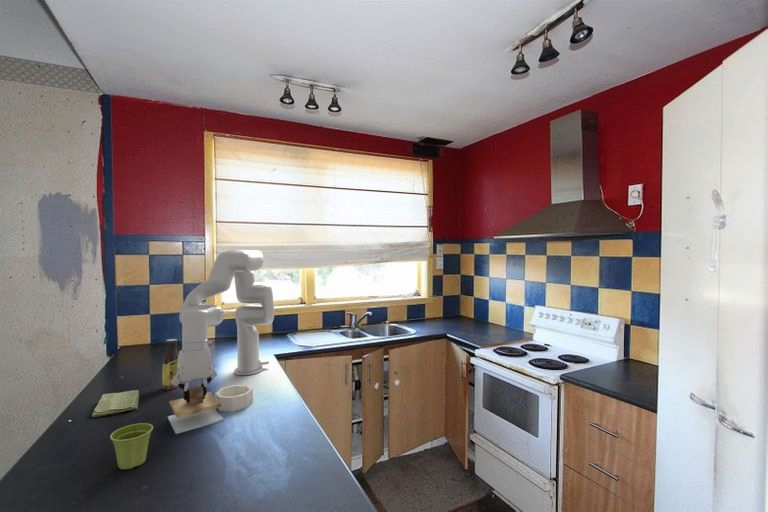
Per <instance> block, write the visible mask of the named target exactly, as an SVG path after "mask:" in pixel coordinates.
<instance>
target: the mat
mask: <svg viewBox="0 0 768 512" xmlns="http://www.w3.org/2000/svg"><path fill="white" fill-rule="evenodd" d="M167 420H168V421H169V423H170V425H171V428H172V429H173V431H174V434H175V435H178V434H182V433H185V432H188V431H192V430H195V429H199V428H202V427H206V426H209V425H212V424H213V425H214V424H215V423H221V422H222V421H224V418H223V416H222V415H221V414H220V413H219V411H217V408H215V409H211V410H207V411H203V412H200V413H196V414H192V415H188V416H184V417H180V418H177V417H176V415H175V414H172V415H169V416H168V415H167Z"/></svg>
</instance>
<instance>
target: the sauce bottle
mask: <svg viewBox="0 0 768 512" xmlns="http://www.w3.org/2000/svg"><path fill="white" fill-rule="evenodd" d="M165 345H166V347H165V348H166V349H165V353H164V354H163V356H162V365H161V366H162V367H161V368H162V370H161V374H162V376H161V385H162V390H167V391H168V390H173V389H177V388H179V387H178V386H175V385H172V383H171V382H172V380H173V379H174V377H175V376H176V374H177V364H178V356H179V351H178V348H177V345H178V339H177V338H169V339H166V340H165ZM178 382H180V380H178Z"/></svg>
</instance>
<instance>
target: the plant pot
mask: <svg viewBox="0 0 768 512" xmlns="http://www.w3.org/2000/svg"><path fill="white" fill-rule="evenodd" d="M153 430H154V426H153V424H150V423H147V422H145V423H144V422H143V423H141V422H140V423H134V424H130V425H129V424H128V425H126V426H123V427H120V428H118V429H116V430H114V431H113V432H112V433H111V434H110V436H109V438H110V440H111V441H112V444H113V445H114V451H115V455H116V456H115V457H116V462H117V467H118V468H119V469H120V470H132V469H133V468H134V467H139V466H140V465H143V464H144V463H145V462H146V459H147V454H148V447H149V443H150V442H149V441H150V436H151V434H152V431H153Z"/></svg>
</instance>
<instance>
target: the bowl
mask: <svg viewBox="0 0 768 512" xmlns="http://www.w3.org/2000/svg"><path fill="white" fill-rule="evenodd" d="M214 394H215V395H214V396H215V397H216V398H217V399H218V401H219V402H220V403H221V407H219V408H216V410H218V412H228V411H229V412H230V413H234V412H236V410H237V411H240V409H241V410H244V409H247V408H248V407H249V406H250V405H252V404H253V403H252V402H254V395H253V394H254V388H253V387H251V386H250V385H248V384H234V385H233V384H232V385H228V386H226V387H222V388H220V389H219V390H217V391H216V392H215V393H214ZM246 407H247V408H246ZM243 408H244V409H243Z"/></svg>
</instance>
